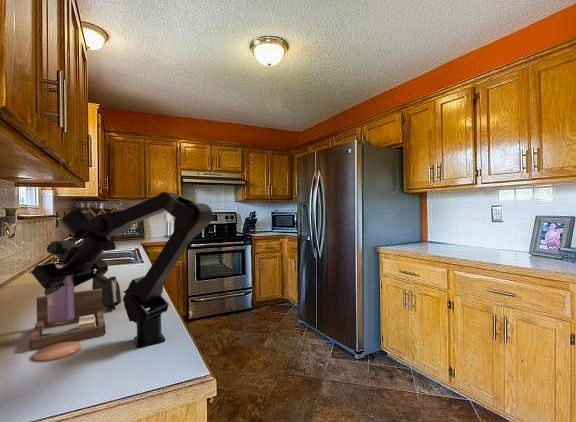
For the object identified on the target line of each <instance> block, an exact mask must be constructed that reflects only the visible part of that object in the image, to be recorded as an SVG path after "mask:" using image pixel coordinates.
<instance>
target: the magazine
mask: <svg viewBox="0 0 576 422" xmlns="http://www.w3.org/2000/svg"><path fill="white" fill-rule="evenodd" d="M94 271H95V272H94V273H95V275H96V272H97V270H94ZM91 285H92V288H91V290H94V289H102V306H107V307H111V310H116V307H117V306H118V305H119V304H121V303H122V295H121V289H120V288H121V287H120V284H119V282H118V281H117V277H116V276H114V275H113V276H110V277H109V278H108V277H107V276H104V275H100V276H97V275H96V277H95V278H93V279H92V284H91Z"/></svg>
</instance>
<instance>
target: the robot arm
mask: <svg viewBox="0 0 576 422" xmlns="http://www.w3.org/2000/svg"><path fill="white" fill-rule="evenodd" d="M163 212H167V213H168V214H169V215H170V216H172V217H174V218H175V219H174V225H173V226H174V227H173V232H172V234H171V235H170V237H169V238H168V240H167V241H166V242H165V244H164V246H163V248H162V249H161V250H160V252H159V254H158V255H157V257H156V259H155V260H154V262H153V263H152V264H151V266H150V268H149V269H148V270H147V272H146V274H145V275H144V276H140V277H137V278H134V279H131V281H130V282H129V285H128V287H127V288H126V290H124V291H123V293H124V296H123V299H122V302H123V305H124V309H125V312H126V315H127V319H128V320H129V322H133V323H135V324H136V336H134V337H133V341H134V343H135V345H136V347H137V348H141V347H145V346H150V345H153V344H158V343H162V342H165V341H166V338H165V336H164V334H163V333H162V314H163V313H166V312H167V311H168V308H169V303H168V301H167V300H166V299H165V298H164V297H163V296H162V293H163V292H164V291H163V289H164V283H165V281H166V279H168V276H169V275H170V273H171V272H172V270H173V269H174V267H175V266H176V264H177V262H178V261H179V259H181V257H182V254H183V253H184V251H185V250H186V249H187V247H188V246H189V244H190V242H191V241H192V240H193V239H194V238H195V237H196V236H198V235H199V234H200V233H202V232H203V231H204V230H205V229H206V228H207V226H209V225H210V223H211V222H212V221H213V218H214V215H213V210H212V208H211V207H210V206H209V205H208V204H206V203H198V202H195V201H193V200H190V199H187V198H185V197H182V196H180V195H178V194H177V193H176V192H170V191H169V192H168V191H162V192H160V193H159V194H157V195H155V196H152V197H151V198H149V199H145V200H143V201H141V202H138V203H137V204H134V205H132V206H129V207H128V208H125V209H122V210H115V211H108V212H103V213H99V214H97V215H95V216H94V218H93V217H92V216H91V214H90V213H89V211H88V210H87V208H86V207H77V208H76V209H75V210H72V211H71V212H68V213H67V214H65V215H64V216H63V217H62V218H61V222H60V223H61V224H62V225H63V226H64V227H65V229H67V231H68V232H69V234H71V235H72V236H73V238H74V239H76V240H80V239H81V242H80V243H79V244H78V243H75V242H74V241H72V240H67V239H64V240H54V241H51V242H50V243H49V244H48V245H47V248H46V252H47V253H49V254H50V255H52V256H57V257H58V258H60V259H59V262H60V263H61V264H62V265H64V266H62V268H61V269H58V268H57V267H56V266H57V265H56V264H55V263H54V262H50V263H49V262H47V263H42V264H36V265H35V266H34V267H33V269H32V271H31V272H30V273H31V275H32V276H33V277H34V278H35V279H36V280H37V282H38V283H39V284H40V285H41V287H42V288H44V291H43V293H44V296H48V295H50V294H51V293H53V292H55V291H56V290H58V289H59V288H61V287H63V286H64V285H65V284H64V283H63V281H64V280H65V279H66V277H68V276H73V275H74V288H75V287H78V286H80V285H81V284H84V283H86V282H89V281H90V280H93V278H95V277H96V275H97V276H100V275H103V276H104V275H105V274H107V272H108V271H109V265H108V264H107V263H106V262H105V261H104V260H103V259H102V258H101V255H102V254H103V253H104V252H110V251H114V250H116V246H117V245H116V244H115V240H114V239H111V238H110V236H111V237H112V236H120V235H123V234H124V233H126V232H127V231H129V230H130V229H132V227H133V226H134V225H135V224H138V223H140V222H142V221H144V220H147V219H150V218H151V217H154V216H156V215H159V214H161V213H163ZM95 271H97V272H96V275H95Z"/></svg>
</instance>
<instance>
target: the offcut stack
mask: <svg viewBox="0 0 576 422" xmlns="http://www.w3.org/2000/svg"><path fill="white" fill-rule="evenodd" d="M96 322H97V319H95V317H94V315H88V316H82V317H79V322H78V329H83V328H89V327H94V326H97V323H96Z"/></svg>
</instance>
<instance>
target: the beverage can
mask: <svg viewBox="0 0 576 422" xmlns="http://www.w3.org/2000/svg"><path fill="white" fill-rule="evenodd" d="M64 265H65V264H62V265H55V266H56V267H57V268H58V269H61V268H62V266H64ZM63 283H64V284H65V285H64V286H63V287H61V288H59V289H58V290H56V291H55V292H53V293H51V294H50V295H48V296H47V302H48V322H49V323H50V324H51V325H58V324H64V323H67V322H70V321H72V320H73V319H74V317H75V300H74V292H75V287H74V275H73V276H68V277H66V279H65V280H64V281H63Z"/></svg>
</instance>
